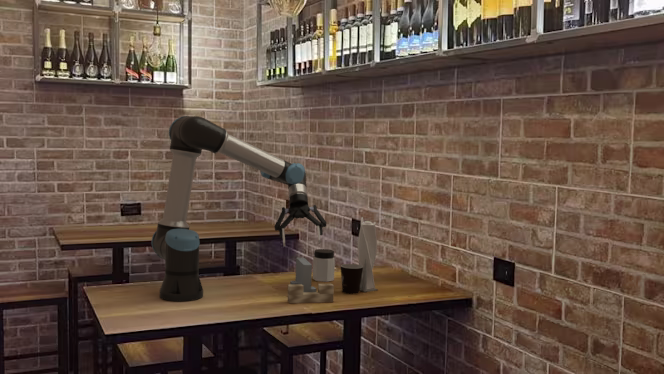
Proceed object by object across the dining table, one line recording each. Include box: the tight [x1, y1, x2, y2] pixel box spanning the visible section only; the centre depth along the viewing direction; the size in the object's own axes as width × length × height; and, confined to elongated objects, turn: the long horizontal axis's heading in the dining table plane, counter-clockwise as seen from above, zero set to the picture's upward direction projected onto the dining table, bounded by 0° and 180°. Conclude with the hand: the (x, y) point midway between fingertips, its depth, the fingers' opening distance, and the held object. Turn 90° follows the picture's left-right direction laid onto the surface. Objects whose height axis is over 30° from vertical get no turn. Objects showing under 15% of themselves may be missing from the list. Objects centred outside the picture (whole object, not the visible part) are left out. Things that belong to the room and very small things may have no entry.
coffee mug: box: [340, 263, 363, 295], centre depth 246 cm, size 12×9×10 cm
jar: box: [312, 248, 336, 283], centre depth 264 cm, size 9×8×12 cm
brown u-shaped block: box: [287, 283, 335, 304], centre depth 228 cm, size 16×3×6 cm, turn 105°
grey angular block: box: [289, 257, 317, 292], centre depth 241 cm, size 14×7×12 cm, turn 15°
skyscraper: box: [357, 216, 379, 293], centre depth 250 cm, size 8×8×28 cm
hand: (301, 243), depth 246 cm, fingers open, 13 cm apart
